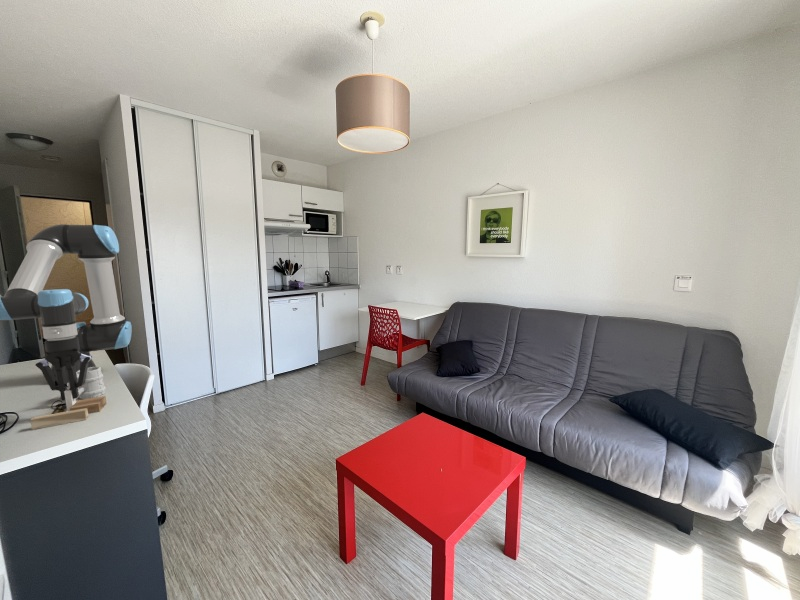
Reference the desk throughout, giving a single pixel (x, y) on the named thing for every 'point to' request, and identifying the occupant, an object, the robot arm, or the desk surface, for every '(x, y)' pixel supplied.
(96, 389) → the mug
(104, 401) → the slab
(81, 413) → the rail
